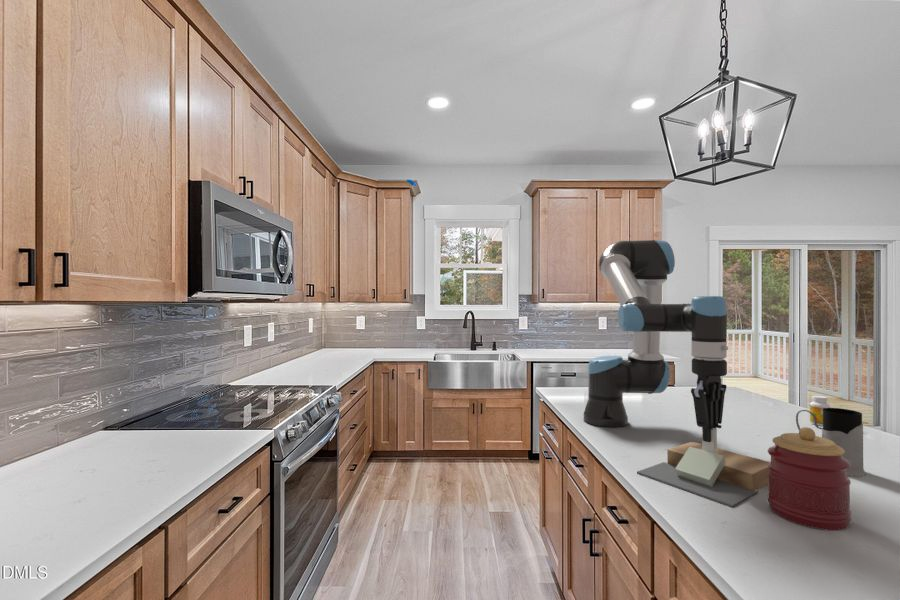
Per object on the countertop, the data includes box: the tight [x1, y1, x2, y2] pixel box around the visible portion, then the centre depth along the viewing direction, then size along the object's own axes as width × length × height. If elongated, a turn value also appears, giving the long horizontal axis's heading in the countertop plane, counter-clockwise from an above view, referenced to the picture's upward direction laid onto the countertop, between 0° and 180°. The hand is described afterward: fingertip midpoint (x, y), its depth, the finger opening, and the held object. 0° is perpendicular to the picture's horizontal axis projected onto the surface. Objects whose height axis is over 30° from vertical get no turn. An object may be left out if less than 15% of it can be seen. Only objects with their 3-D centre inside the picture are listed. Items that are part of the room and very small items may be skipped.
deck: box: [666, 441, 771, 491], centre depth 111 cm, size 20×12×4 cm, turn 33°
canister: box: [767, 426, 852, 531], centre depth 88 cm, size 13×13×18 cm
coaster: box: [675, 447, 726, 487], centre depth 106 cm, size 8×8×2 cm
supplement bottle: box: [809, 395, 831, 427], centre depth 154 cm, size 5×5×10 cm
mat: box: [636, 461, 759, 508], centre depth 104 cm, size 22×12×1 cm, turn 33°
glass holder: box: [795, 407, 867, 478], centre depth 115 cm, size 9×14×15 cm, turn 32°
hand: (709, 453), depth 108 cm, fingers closed
